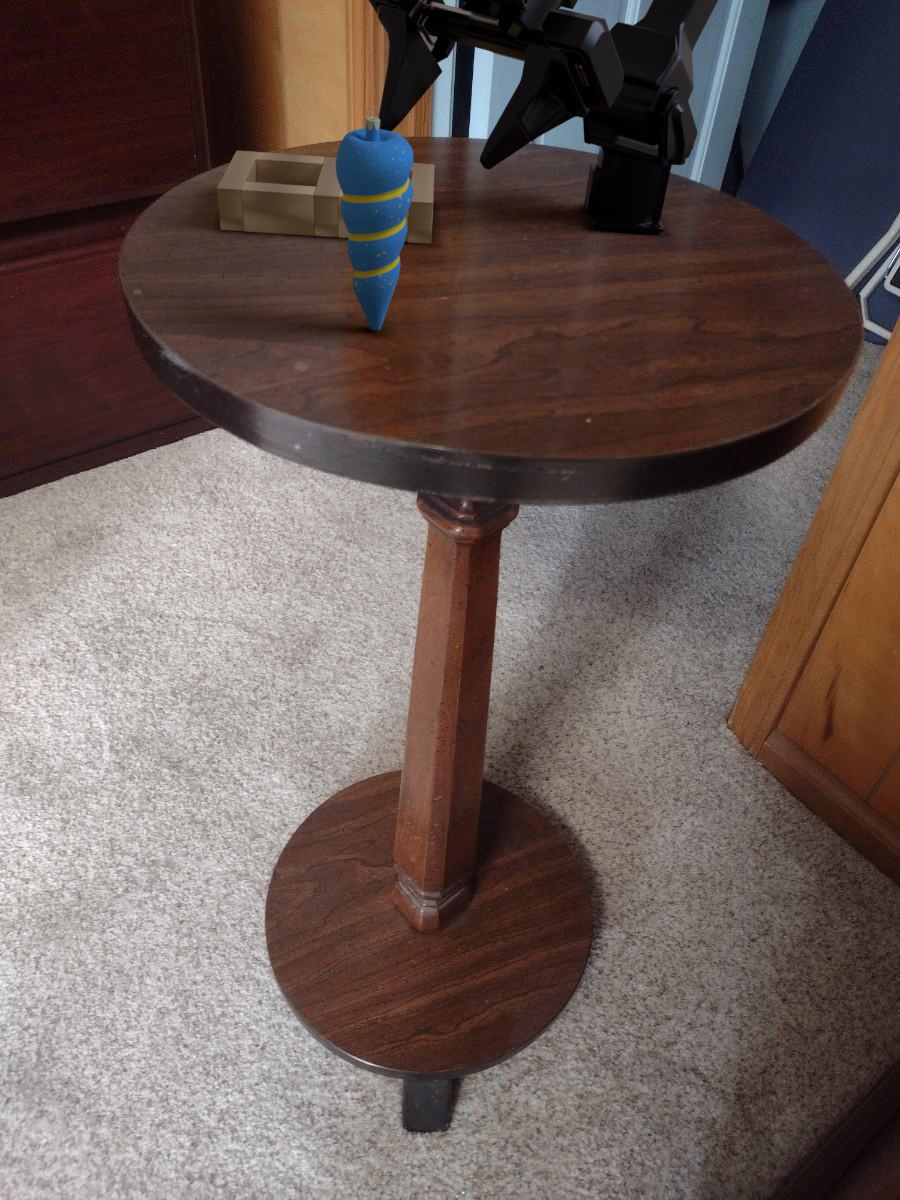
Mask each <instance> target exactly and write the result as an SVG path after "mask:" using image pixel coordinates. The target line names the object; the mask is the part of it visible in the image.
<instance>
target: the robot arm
mask: <svg viewBox="0 0 900 1200" xmlns="http://www.w3.org/2000/svg"><path fill="white" fill-rule="evenodd" d="M578 1H579V0H464V2H463V5H462V8H460V7H456V6H453V5H449V4H446V2H445V0H368V2H369V3H370V5H371V7H372V8H373V9H374V11H375V13H376V15H377V19H378V21H379V23H380V24H381V25H382V27H383V28H384V30H385V32H386V33H387V37H388V56H387V57H388V58H387V67H386V68H387V69H386V74H385V80H384V84H383V91H382V96H381V101H380V105H379V106H380V107H379V110H378V112H379V114H378V117H377V118H379V119H380V129H382V130H387V131H392V132H394V130H395V129H396V128H397V127H398V126H399V125H400V124H401V123H402V122H403V121H404V119H405V118H406V117H407V116H408V115H409V113H411V111H412V110H413V108H414V107H415V106H416V105H417V104H418V102H419V101H420V100H421V99H422V98H423V96H424V95H425V94H426V93H427V91H428V90H429V89H430V88H431V87H432V85H433V84H434V83H436V80H438V78H439V77H440V76H441V74H442V73H443V70H442V68H441V66H440V65H439V63H441V62H442V61H444V60H446V59H447V58H449V57H450V55H451V53H452V52H453V49H454V48H455V46H456V43H458V44H461V45H465V46H469V47H472V48H477V49H479V50H484V51H487V52H490V53H492V54H494V55H498V56H502V57H506V58H510V59H513V60H516V61H521V62H523V67H522V73H521V77H520V81H519V83H518V85H517V86H516V88H515V90H514V92H513V94H512V95H511V97H510V99H509V101H508V103H507V104H506V105H505V108H504V110H503V111H502V113H501V115H500V117H499V118H498V120H497V122H496V124H495V125H494V127H493V128H492V131H491V132H490V134H489V136H488V138H487V140H486V142H485V144H484V147H483V149H482V151H481V154H480V155H479V162H480V164H481V166H482V168H483V169H485V170H491V169H493V168H494V167H496V166H498V165H499V164H500V163H502V162H503V161H505V160H506V159H508V158H509V157H510V156H513V155H514V154H515V153H517V152H518V151H520V150H521V149H522V148H524V147H525V146H527V145H528V144H530V143H531V142H533V141H534V140H536V139H538V138H540V137H541V136H543V135H545V134H546V133H548V132H550V131H552V130H553V129H555V128H557V127H559V126H561V125H563V124H564V123H566V122H568V121H570V120H571V119H573V118H582V125H583V142H584V143H585V144H587V145H594V146H597V147H598V152H597V153H598V154H597V159H593V160H592V161H590V165H589V170H588V171H589V172H588V176H587V177H588V178H587V183H586V190H585V196H584V203H583V204H584V209H585V212H586V214H587V215H588V216H589V218H590V223H591V226H592V228H594V229H597V230H608V231H621V232H622V231H623V232H624V231H625V232H639V233H652V234H653V233H654V234H661V233H664V228H665V227H664V224H663V222H662V219H661V218H662V213H663V207H664V204H665V199H666V194H667V190H668V185H669V179H670V175H671V170H672V167H673V166H683V165H685V164H686V159H688V158H689V157H690V155H691V153H692V151H693V149H694V146H695V143H696V140H697V137H698V128H697V125H696V121H695V119H694V115H693V113H692V109H691V105H690V103H689V100H690V97H691V95H692V93H693V91H694V86H695V85H694V64H693V51H694V48H695V47H696V45H697V42H698V41H699V38H700V36H701V35H702V33H703V31H704V29H705V27H706V25H707V23H708V21H709V19H710V17H711V15H712V14H713V12H714V10H715V7H716V5H717V4H718V2H719V0H651V3H650V5H649V6H648V9H647V10H646V12H645V14H644V15H643V17H642V18H641V19H640V20H638V21H636V22H635V23H634V24H630V23H626V22H622V21H617V22H616V23H615V24H614V25H613V26H612V27H611V29H610V28H609V26H608V23H607V20H606V18H603V17H599V16H594V15H590V14H585V13H581V12H578V11H573V10H574V8H575V7H576V4H577V3H578ZM564 8H565V9H564ZM568 9H569V10H568Z"/></svg>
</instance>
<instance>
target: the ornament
mask: <svg viewBox="0 0 900 1200" xmlns="http://www.w3.org/2000/svg"><path fill="white" fill-rule="evenodd" d="M373 108H374V109H376V110H377V115H376V116H369V111H370V109H373ZM366 114H367V117H365V128H358V129H354V130H351V131H349V132H347V133H346V134H345V136H343V138H342V140H341V142H340V144H339V147H338V150H337V154H336V157H335V158H336V174H337V178H338V182H339V185H340V187H341V190H342V192H343V197H342V201H341V214H342V217H343V220H344V223H345V225H346V228H347V230H348V233H349V238H347V244H346V245H347V253H348V256H349V261H350V263H351V266H352V269H353V272H354V273H353V277H352V287H353V291H354V294H355V297H356V299H357V301H358V304H359V305H360V308H361V310H362V312H363V314H364V317H365V319H366V321H367V324H368V327H369V329H370V330H371V331H373V332H374V331H375V332H376V331H377V332H378V331H380V330H381V329H382V327H383V323H384V320H385V318H386V315H387V312H388V309H389V306H390V303H391V301H392V297H393V295H394V292H395V290H396V287H397V284H398V281H399V277H400V273H401V257H400V255H401V251H402V249H403V247H404V244H405V242H404V241H405V238H406V235H407V221H406V214H407V212H408V210H409V208H410V205H411V202H412V197H413V186H412V183H411V180H410V178H409V174H410V171H411V169H412V165H413V163H414V150H413V148H412V146H411V145H410V143H409V141H408V140H407V139H406V138H405V137H404V136H402V135H401V134H400V133H398V132H396V131H387V130H382V129H380V119H379V118H378V117H379V109H378V108H377V107H375V106H371V107H370V108H368V109H367V113H366Z"/></svg>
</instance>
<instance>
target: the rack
mask: <svg viewBox="0 0 900 1200" xmlns="http://www.w3.org/2000/svg"><path fill="white" fill-rule="evenodd" d="M409 178H410V180H411V183H412V186H413V197H412V202H411V205H410V208H409V210H408V212H407V214H406V221H407V235H406V238H405V241H404V243H413V244H423V245H424V244H426V245H431V244H432V231H433V217H434V216H433V214H434V196H435V195H434V194H435V193H434V192H435V164H433V163H421V162H413V165H412V169H411V171H410V174H409ZM216 193H217V205H218V216H219V226H220V227H219V228H220V230H221V231H232V232H233V231H234V232H249V233H262V234H279V235H291V236H292V235H293V236H305V237H306V236H309V237H323V238H324V237H325V238H341V239H348V238H349V233H348V230H347V228H346V225H345V223H344V220H343V217H342V214H341V201H342V197H343V192H342V190H341V187H340V185H339V182H338V178H337V174H336V157H333V156H322V155H321V156H320V155H309V154H308V155H307V154H295V153H294V154H291V153H278V152H263V151H253V150H252V151H251V150H250V151H249V150H236V151H235V153H234V155H233V157H232V158H231V160H230V163H229V165H228V166H227V168H226V170H225V173H224V174H223V176H222V177H221V180H220V181H219V183H218V185H217V187H216Z"/></svg>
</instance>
